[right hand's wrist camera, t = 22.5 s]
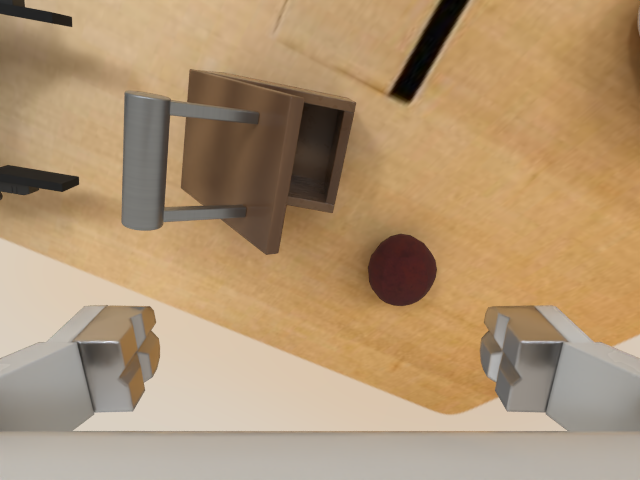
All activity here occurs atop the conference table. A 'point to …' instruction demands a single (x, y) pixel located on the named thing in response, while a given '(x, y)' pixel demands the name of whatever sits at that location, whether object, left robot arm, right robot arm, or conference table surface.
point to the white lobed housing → (639, 20)
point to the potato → (401, 270)
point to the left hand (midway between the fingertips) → (67, 107)
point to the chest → (315, 144)
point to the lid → (213, 156)
